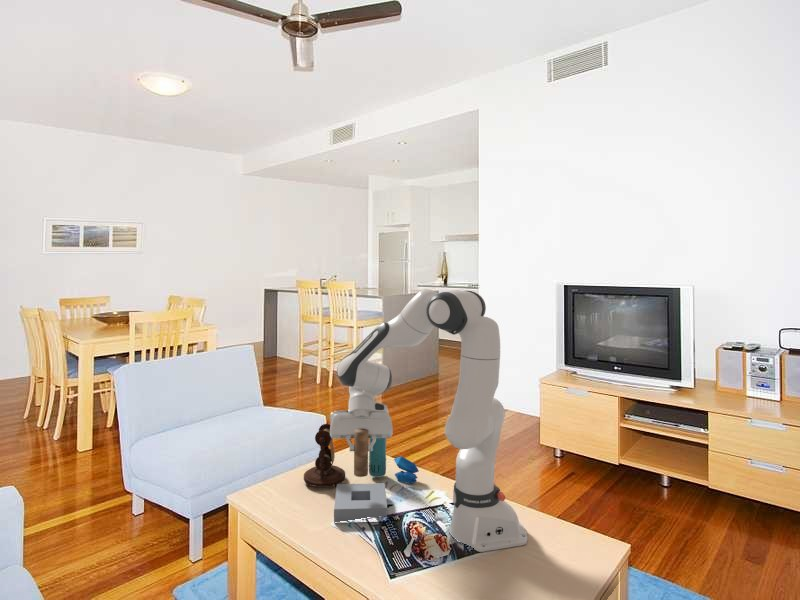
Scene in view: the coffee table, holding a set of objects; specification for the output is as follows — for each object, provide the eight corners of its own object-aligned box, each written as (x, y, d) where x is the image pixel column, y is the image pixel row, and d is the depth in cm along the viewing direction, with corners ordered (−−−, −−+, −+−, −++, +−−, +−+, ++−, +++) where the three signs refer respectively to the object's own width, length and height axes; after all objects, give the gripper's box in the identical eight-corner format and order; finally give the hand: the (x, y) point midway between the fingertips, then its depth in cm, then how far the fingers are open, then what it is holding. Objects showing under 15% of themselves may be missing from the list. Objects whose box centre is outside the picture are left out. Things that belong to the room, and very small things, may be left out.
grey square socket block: (384, 496, 160) (384, 483, 160) (386, 522, 144) (387, 507, 144) (336, 497, 159) (336, 484, 158) (333, 523, 143) (334, 509, 142)
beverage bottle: (384, 472, 178) (384, 420, 176) (388, 480, 171) (388, 426, 170) (367, 474, 176) (367, 421, 175) (370, 482, 170) (370, 428, 168)
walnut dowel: (367, 470, 153) (368, 428, 152) (367, 476, 149) (368, 433, 147) (354, 470, 153) (354, 428, 151) (353, 477, 148) (354, 433, 147)
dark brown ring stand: (342, 491, 163) (342, 434, 161) (299, 490, 163) (299, 434, 161) (347, 472, 178) (348, 420, 176) (308, 471, 178) (308, 419, 176)
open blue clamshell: (417, 470, 165) (389, 457, 170) (411, 491, 167) (384, 477, 171) (425, 463, 171) (398, 450, 176) (420, 483, 173) (393, 470, 178)
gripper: (329, 406, 155) (327, 446, 146) (392, 405, 157) (393, 445, 148) (330, 415, 160) (328, 455, 151) (391, 414, 161) (392, 453, 152)
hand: (361, 450), depth 149 cm, fingers closed on walnut dowel, 4 cm apart
